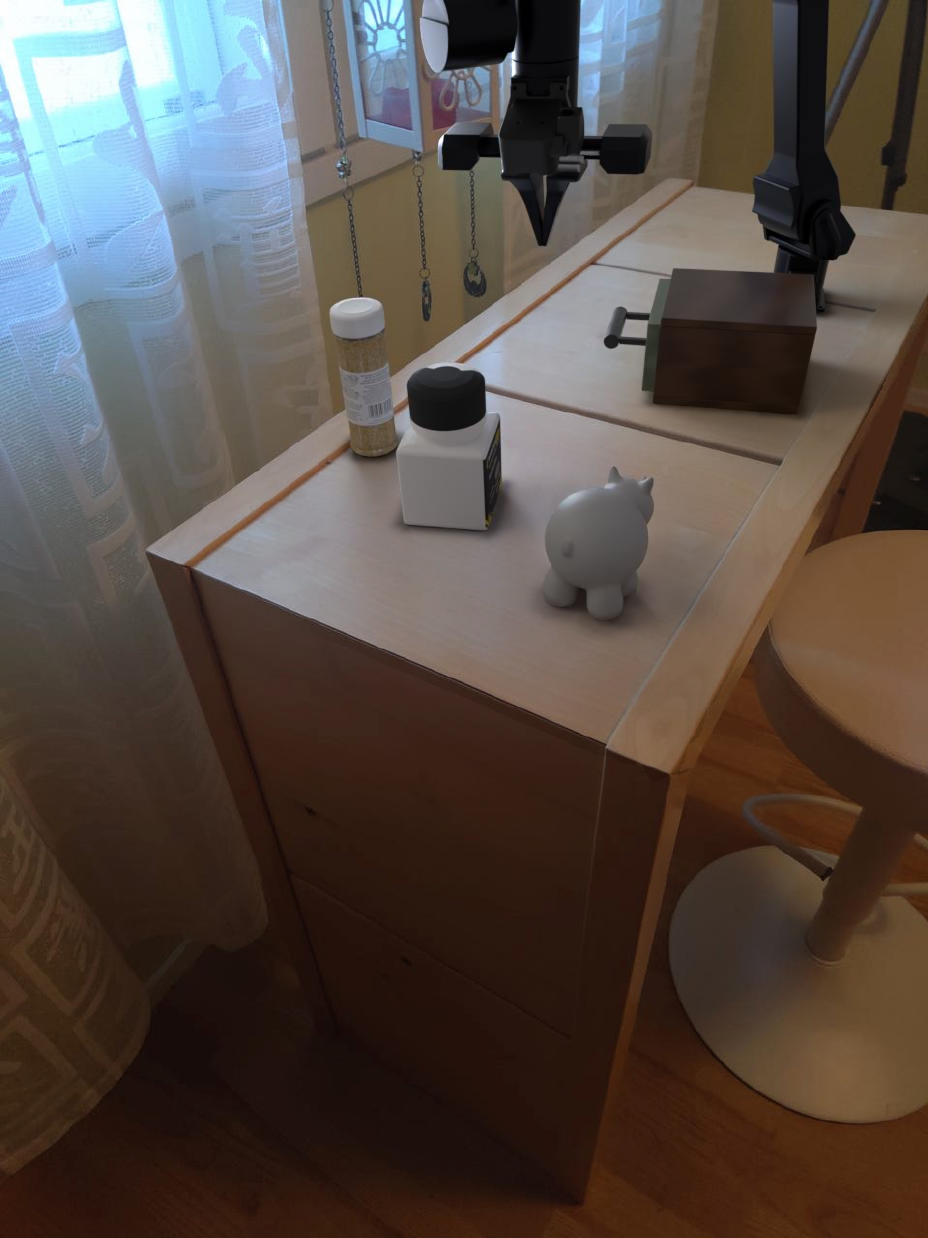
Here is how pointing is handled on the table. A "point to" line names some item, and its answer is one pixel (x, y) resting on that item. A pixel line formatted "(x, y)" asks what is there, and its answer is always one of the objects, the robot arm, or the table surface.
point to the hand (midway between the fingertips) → (543, 244)
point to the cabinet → (735, 340)
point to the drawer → (650, 341)
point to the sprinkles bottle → (365, 374)
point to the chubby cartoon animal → (598, 544)
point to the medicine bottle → (449, 450)
